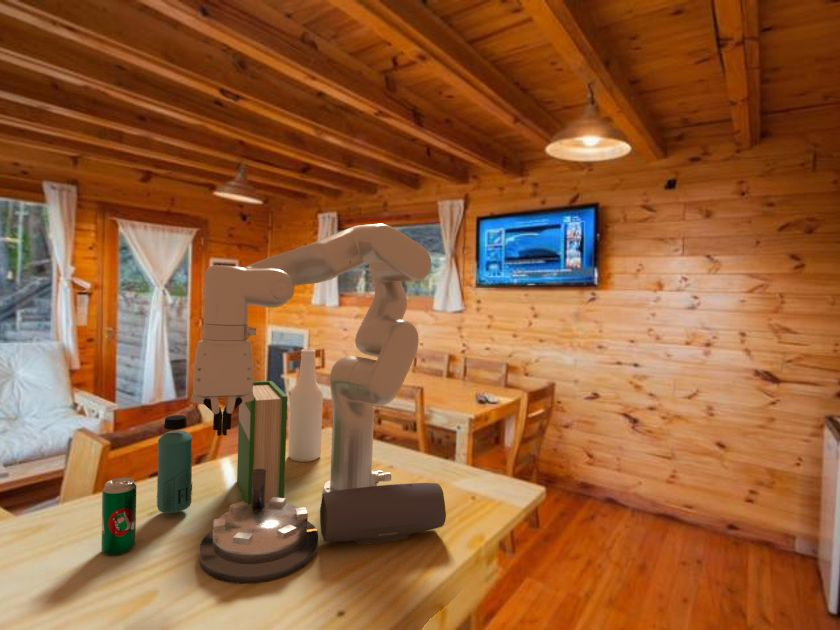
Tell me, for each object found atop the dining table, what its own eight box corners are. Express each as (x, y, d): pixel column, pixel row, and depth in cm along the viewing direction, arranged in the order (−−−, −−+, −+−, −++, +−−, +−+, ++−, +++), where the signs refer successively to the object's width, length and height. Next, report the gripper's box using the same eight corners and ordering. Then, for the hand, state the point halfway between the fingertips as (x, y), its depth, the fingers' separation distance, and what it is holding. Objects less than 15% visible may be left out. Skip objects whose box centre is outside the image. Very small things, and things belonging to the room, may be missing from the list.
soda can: (111, 541, 88) (112, 476, 87) (140, 542, 88) (141, 476, 88) (95, 557, 83) (96, 487, 82) (126, 557, 83) (127, 488, 82)
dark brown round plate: (306, 517, 100) (307, 506, 100) (328, 569, 82) (329, 556, 82) (200, 532, 92) (200, 520, 92) (198, 594, 74) (198, 580, 74)
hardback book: (283, 506, 105) (287, 396, 104) (247, 512, 101) (250, 398, 100) (268, 477, 120) (271, 380, 119) (237, 481, 117) (239, 382, 116)
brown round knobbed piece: (298, 512, 98) (300, 464, 97) (314, 553, 83) (317, 496, 83) (212, 524, 91) (213, 472, 91) (212, 570, 77) (214, 509, 76)
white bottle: (324, 453, 140) (328, 348, 138) (315, 463, 131) (319, 352, 130) (294, 450, 140) (298, 347, 139) (283, 461, 132) (287, 350, 130)
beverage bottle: (177, 522, 96) (179, 422, 95) (148, 518, 97) (149, 418, 96) (198, 508, 102) (201, 414, 101) (171, 504, 103) (173, 411, 102)
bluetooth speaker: (429, 520, 102) (431, 473, 101) (445, 542, 93) (448, 491, 92) (318, 533, 94) (320, 482, 94) (325, 558, 86) (327, 502, 85)
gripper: (266, 332, 95) (262, 425, 96) (180, 331, 89) (177, 430, 90) (270, 336, 88) (266, 436, 89) (178, 335, 82) (174, 442, 83)
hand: (221, 433), depth 89 cm, fingers closed
